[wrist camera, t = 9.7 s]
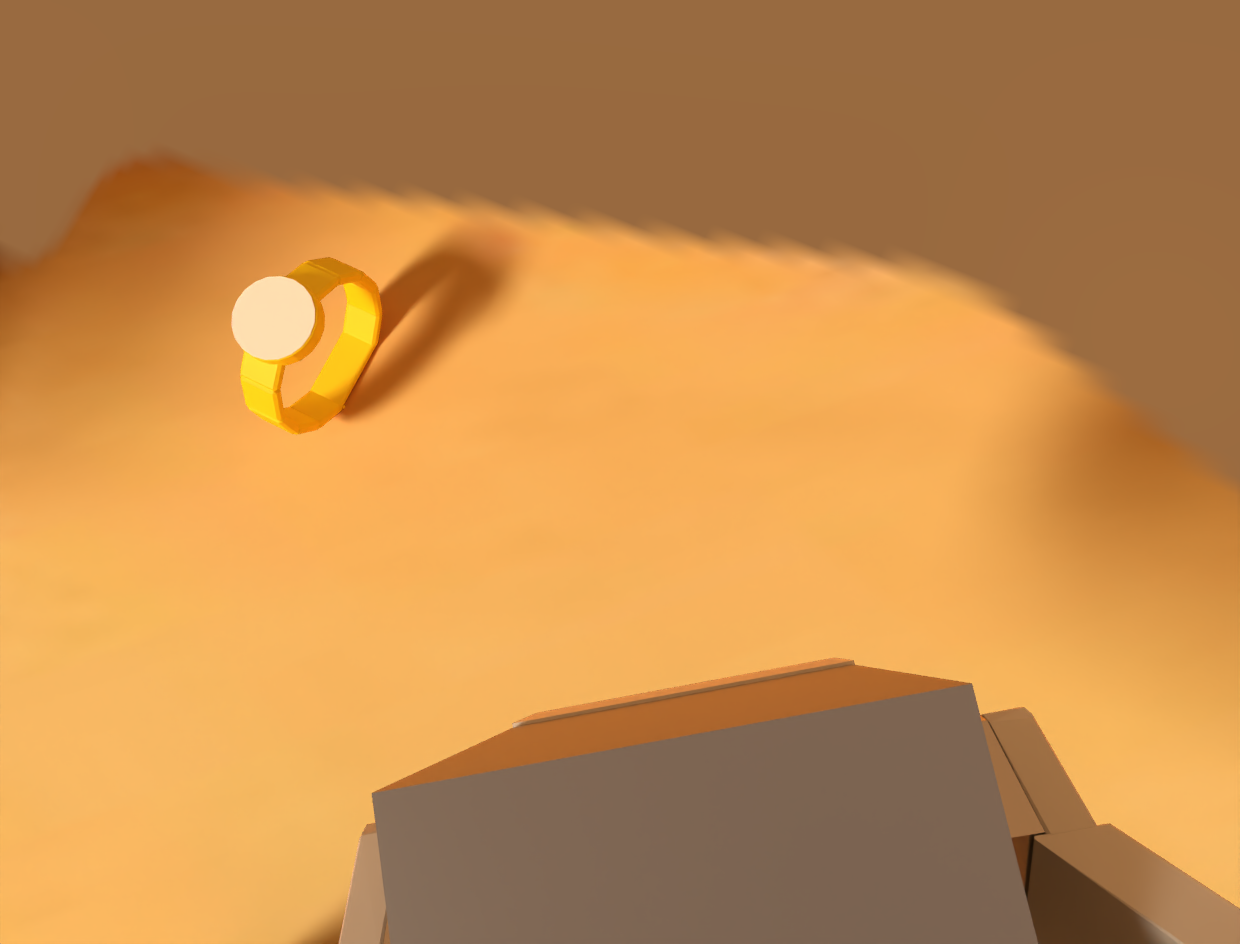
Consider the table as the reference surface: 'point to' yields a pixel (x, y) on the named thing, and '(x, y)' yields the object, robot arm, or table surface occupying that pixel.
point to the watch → (304, 340)
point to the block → (715, 821)
